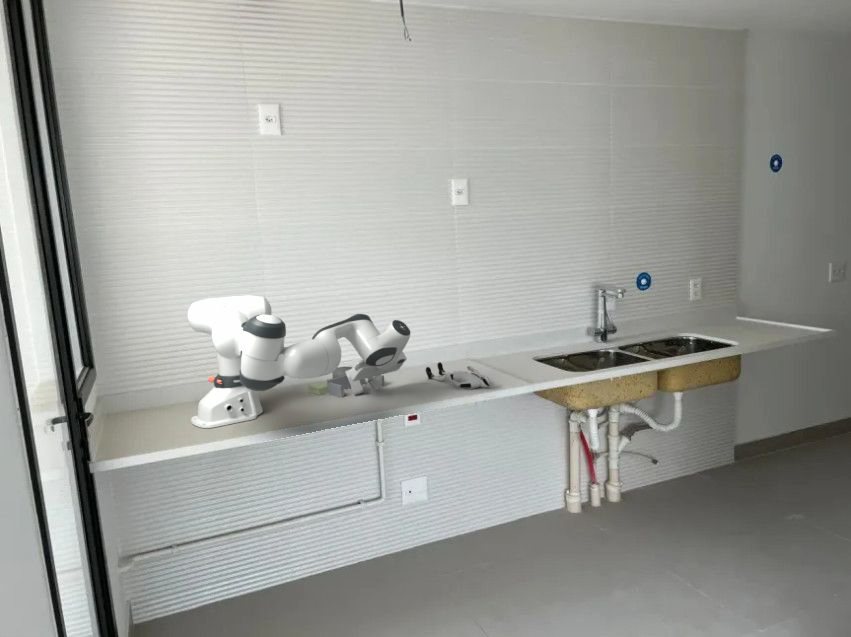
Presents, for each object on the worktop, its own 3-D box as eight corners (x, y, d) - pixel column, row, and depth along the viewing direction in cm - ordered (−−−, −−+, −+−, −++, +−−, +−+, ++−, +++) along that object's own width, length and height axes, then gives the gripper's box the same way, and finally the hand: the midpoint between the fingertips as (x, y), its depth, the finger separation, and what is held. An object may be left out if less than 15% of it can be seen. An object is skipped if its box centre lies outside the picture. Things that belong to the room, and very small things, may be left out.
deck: (333, 399, 216) (331, 381, 215) (308, 391, 229) (307, 374, 228) (391, 384, 233) (390, 367, 232) (366, 377, 246) (364, 361, 245)
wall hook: (384, 389, 221) (374, 364, 219) (357, 401, 219) (346, 375, 217) (381, 384, 228) (371, 359, 227) (354, 395, 227) (344, 370, 225)
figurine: (445, 359, 243) (501, 367, 220) (448, 374, 244) (503, 384, 221) (419, 369, 235) (474, 379, 212) (422, 385, 237) (477, 396, 213)
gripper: (363, 369, 205) (348, 393, 214) (410, 358, 218) (395, 381, 227) (354, 354, 208) (340, 379, 216) (401, 344, 221) (386, 367, 230)
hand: (368, 380), depth 222 cm, fingers closed, pressing on wall hook
